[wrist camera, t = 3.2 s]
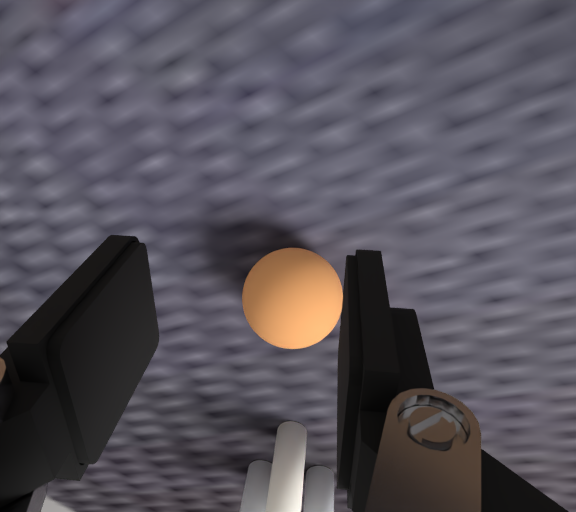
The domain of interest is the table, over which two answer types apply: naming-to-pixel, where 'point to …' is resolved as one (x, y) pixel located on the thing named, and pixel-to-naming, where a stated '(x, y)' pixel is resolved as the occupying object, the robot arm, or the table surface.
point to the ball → (292, 298)
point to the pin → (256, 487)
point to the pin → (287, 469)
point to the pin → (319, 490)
